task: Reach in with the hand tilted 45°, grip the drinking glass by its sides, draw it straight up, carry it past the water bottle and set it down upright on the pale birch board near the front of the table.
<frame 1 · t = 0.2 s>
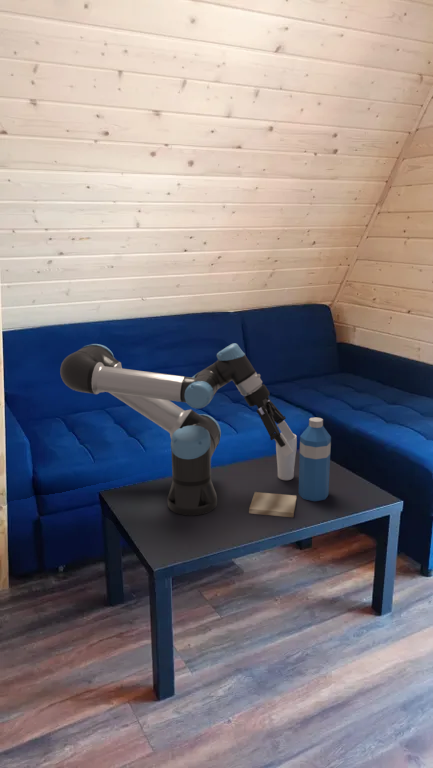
hand: (290, 446, 181), 16 cm above the table, tool tilted 35°, fingers open, 13 cm apart
drinking glass: (285, 478, 196), on the table
water bottle: (313, 495, 184), on the table
birch board: (273, 506, 176), on the table
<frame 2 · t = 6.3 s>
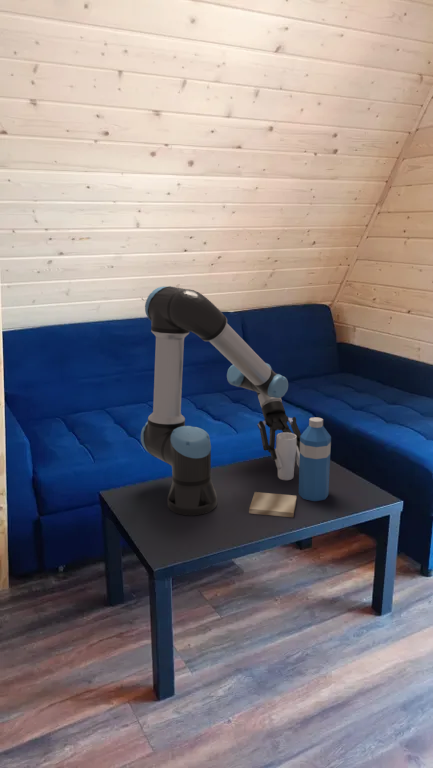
hand: (290, 466, 191), 5 cm above the table, tool tilted 45°, fingers closed on drinking glass, 7 cm apart
drinking glass: (285, 478, 196), on the table, touching gripper
everything else where it was.
when the fingers open (8 cm above the table, at t = 14.5 s): drinking glass drops 1 cm, resting on birch board.
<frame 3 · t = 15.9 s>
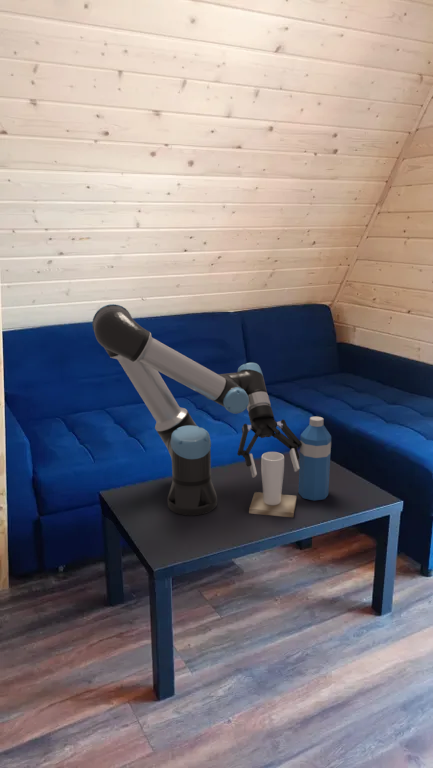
hand: (276, 473, 174), 11 cm above the table, tool tilted 45°, fingers open, 13 cm apart
drinking glass: (272, 502, 176), point 1 cm above the table, touching birch board
everything else where it was.
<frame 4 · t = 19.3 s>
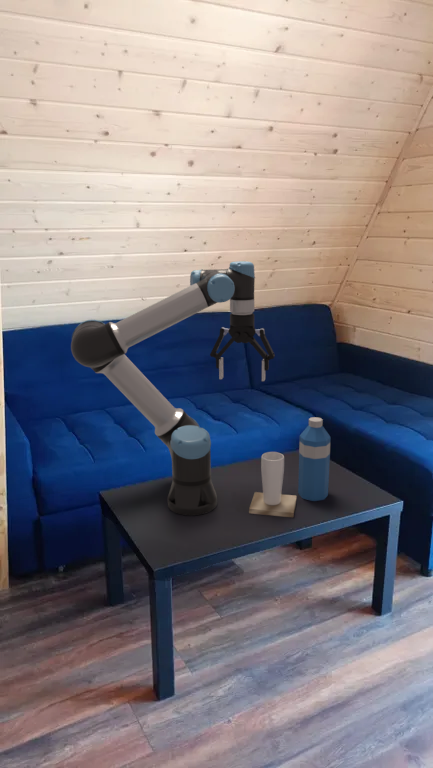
hand: (242, 379, 185), 35 cm above the table, tool pointing down, fingers open, 13 cm apart
nothing on the table moved.
at the end: drinking glass inside the target area on the birch board (0.4 cm from its centre), point 1.3 cm above the birch board's base; drinking glass tilted 0°; the gripper is holding nothing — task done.
